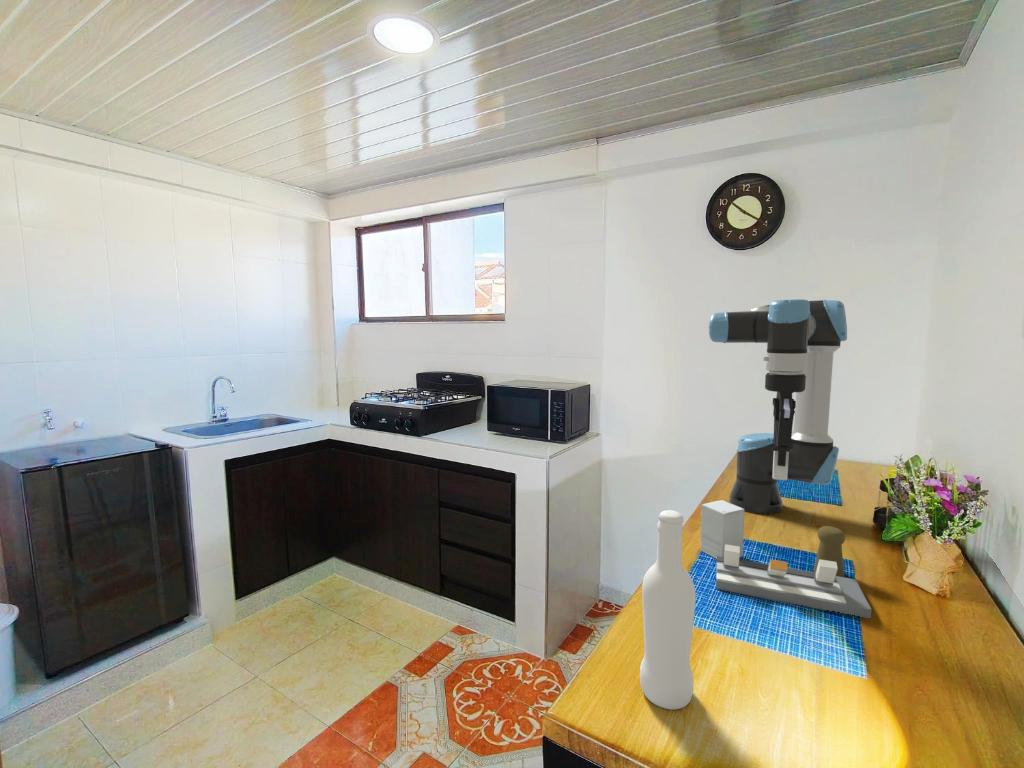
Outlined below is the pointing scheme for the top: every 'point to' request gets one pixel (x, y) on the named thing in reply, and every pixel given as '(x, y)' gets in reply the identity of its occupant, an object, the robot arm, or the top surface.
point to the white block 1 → (731, 556)
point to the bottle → (668, 620)
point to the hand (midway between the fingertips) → (779, 478)
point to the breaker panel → (793, 588)
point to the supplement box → (721, 527)
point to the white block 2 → (826, 572)
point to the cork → (831, 547)
